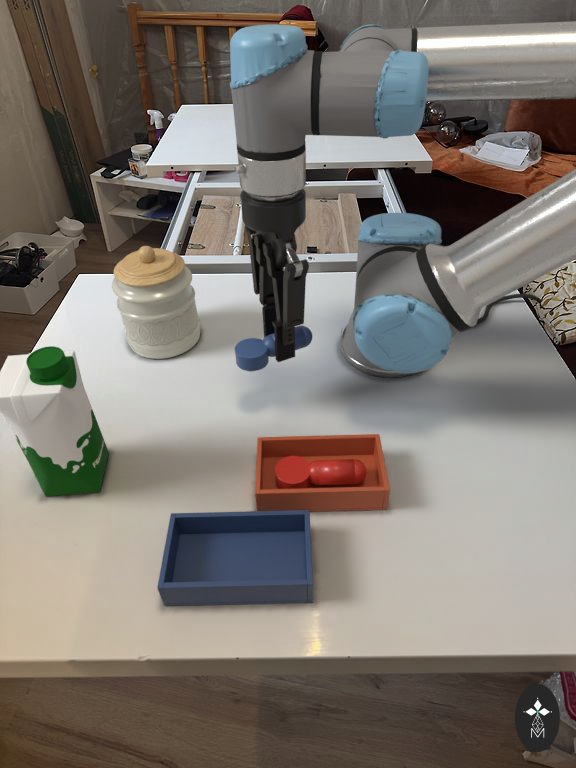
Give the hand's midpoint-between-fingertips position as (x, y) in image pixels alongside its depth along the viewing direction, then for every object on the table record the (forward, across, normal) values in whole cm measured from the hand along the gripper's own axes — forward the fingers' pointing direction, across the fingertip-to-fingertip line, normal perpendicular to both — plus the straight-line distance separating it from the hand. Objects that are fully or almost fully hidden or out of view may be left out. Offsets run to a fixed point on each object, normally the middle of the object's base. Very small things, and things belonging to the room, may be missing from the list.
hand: (279, 350), depth 76 cm
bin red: (+9, +17, -3) cm, 20 cm away
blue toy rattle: (0, 0, -1) cm, 1 cm away
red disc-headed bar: (+9, +17, -3) cm, 19 cm away
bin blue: (+9, +24, -16) cm, 30 cm away
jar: (+9, -24, -12) cm, 28 cm away
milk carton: (+9, +1, -31) cm, 33 cm away
